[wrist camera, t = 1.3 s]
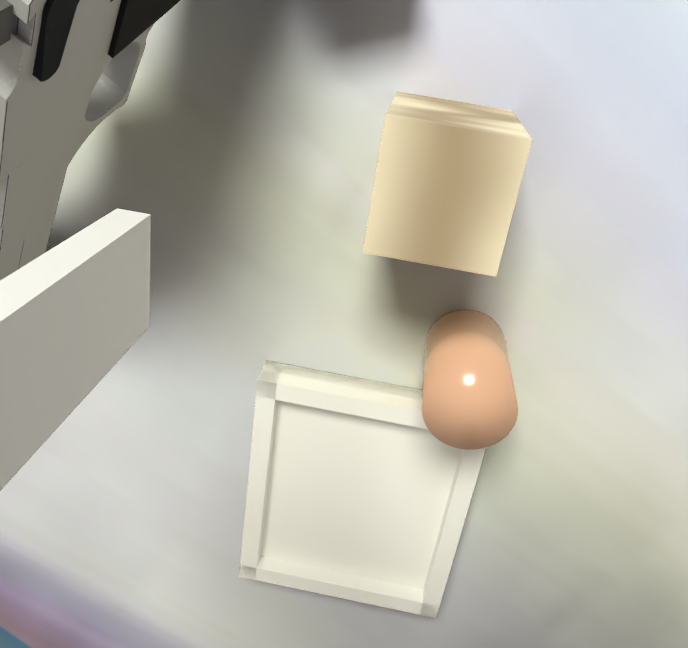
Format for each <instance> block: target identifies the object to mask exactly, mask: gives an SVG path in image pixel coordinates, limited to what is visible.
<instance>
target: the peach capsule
mask: <svg viewBox="0 0 688 648" xmlns="http://www.w3.org/2000/svg"><path fill="white" fill-rule="evenodd" d="M517 414H518V407H517V400H516V395H515V390H514V384H513V379H512V374H511V369H510V363H509V358H508V353H507V348H506V342H505V338H504V334H503V332H502V330H501V328H500V327H499V325H498V324H497V323H496V322H495V321H494V320H493V319H492V318H490V317H489V316H487V315H485V314H483V313H480V312H477V311H472V310H459V311H454V312H451V313H448V314H446V315H444V316H442V317H441V318H439V319H438V320H437V321H436V322H435V323H434V324H433V325H432V326H431V328H430V329H429V331H428V334H427V336H426V341H425V356H424V377H423V397H422V415H423V419H424V422H425V424H426V427H427V428H428V430H429V431H430V432H431V433H432V435H433V436H435V437H436V438H437V439H438V440H440V441H441V442H443V443H445V444H447V445H449V446H452V447H455V448H459V449H466V450H474V449H481V448H485V447H489V446H491V445H494V444H496V443H497V442H499V441H500V440H502V439H503V438H504V437H505V436H507V435H508V433H509V432H510V431H511V430H512V428H513V426H514V424H515V422H516V419H517Z"/></svg>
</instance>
